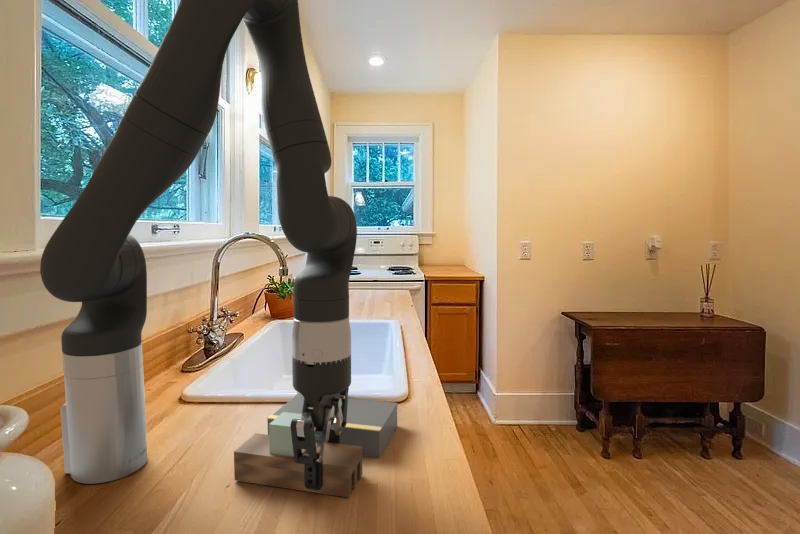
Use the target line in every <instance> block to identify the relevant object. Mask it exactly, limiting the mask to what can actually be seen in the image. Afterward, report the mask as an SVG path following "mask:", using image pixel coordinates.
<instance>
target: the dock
mask: <svg viewBox="0 0 800 534" xmlns="http://www.w3.org/2000/svg"><path fill="white" fill-rule="evenodd" d="M303 403H304V397H303V395H302V394H301V393H298V394H297V393H296V395H295V396H294V397H292V398H291V399H290V400H288V401H287V402H286V403H285V404H284V405H282V406H281V407H279V409H277V410H276V411H275V412H274V413H273V414H270V415H269V416H268V417H267V418H266V420H267V435H269V424H270V423H271V422H272V421H273V420H274V419H276V418H277V417H278V416H279V415H280V414H281V413H283V412H288V413H297V414H302V408H303ZM346 422H347V424H346V426H345V428H343V427H342V435H341V437H340V444H346V445H354V446H362V457H364V456H365V457H371V458H381V457H382V454H383V452H384V451H385V449H386V447H387V445H388V443H389V441H390V439H391V438H392V436H393V435H394V433H395V431H396V429H397V426H398V402H394V401H393V402H391V401H381V400H372V399H371V400H370V399H360V398H350V397H348V404H347V421H346ZM314 432H315V435H318V436H321V435H322V432H317V431H314Z"/></svg>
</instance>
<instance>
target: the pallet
mask: <svg viewBox="0 0 800 534" xmlns="http://www.w3.org/2000/svg"><path fill="white" fill-rule="evenodd" d="M316 452H317V443H316ZM322 460H323V486H322V487H321V489H320V490H312V489H307V488H306V487H305V478H304V464H301V463H299V464H298V463H295V461H294V457H293V456H285V455H278V454H270V450H269V435H268V434H265V433H257V432H255V433H254V434H253V435H251V436H250V437H249V438H248V439H247V440H246V441H244V443H242V444H241V445H240V446H239V447H238V448H236V449H235V450H234V451H233V464H234V465H233V469H234V470H233V472H234V473H233V474H234V475H233V476H234V481H237V482H243V483H250V484H251V483H252V484H257V485H263V486H270V487H277V488H284V489H290V490H297V491H303V492H310V493H316V494H322V495H323V494H324V495H327V496H328V495H330V496H336V497H343V498H348V499H349V498H350V497H351V495H352V493H353V492H352V491H353V490H352V488H354V489H355V488H356V486H357V484H358V479H361V478H362V476H363V455H362V446H354V445H346V444H336V443H328V442H327V443H325V444H324V451H323V459H322Z"/></svg>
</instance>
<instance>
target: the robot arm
mask: <svg viewBox="0 0 800 534" xmlns="http://www.w3.org/2000/svg"><path fill="white" fill-rule="evenodd" d="M178 3H179V4H178V7H177V9H176V11H175V14H174V16H173V19H172V21H171V23H170V24H169V27H168V29H167V31H166V33H165V34H164V37H163V39H162V40H161V43H160V45H159V47H158V50H157V52H156V53H155V55H154V58H153V59H152V62H151V64H150V65H149V67H148V69H147V71H146V74H145V75H144V77H143V79H142V81H140V84H139V85H138V87H137V88H136V90H135V93H134V94H133V96H132V98H131V100H130V102H129V103H128V106H127V108H126V110H125V111H124V113H123V115H122V117H121V119H120V122H119V123H118V126H117V128H116V129H115V132H114V134H113V136H112V138H111V140H110V141H109V143H108V146H107V147H106V148H105V150H104V152H103V155H102V156H101V158H100V159H99V161H98V163H97V165H96V167H95V169H94V170H93V173H92V175H91V176H90V178H89V180H88V181H87V183H86V186H85V187H84V189H83V190H82V191H81V193H80V194H79V196H78V198H77V199H76V201H75V202H74V204H72V207H70V210H69V211H68V212H67V213H66V215H65V216H64V218H63V219H62V220H61V222H60V224H58V226H57V228H56V229H55V231H54V232H53V233H52V235H51V236H50V238H49V240H47V243H46V245H45V246H44V249H43V252H42V254H41V258H40V266H39V271H40V277H41V281H42V283H43V286H44V288H45V290H47V291H48V293H49V294H50V295H51V296H52V297H54V298H56V299H58V300H60V301H64V302H69V303H81V307H80V310H79V312H78V314H77V315H76V317H75V318H74V319H73V321H71V322H70V323H69V324H68V325H67V326H66V327H65V328H64V329H63V331H62V332H61V339H60V341H61V352H62V353H61V354H62V367H63V368H62V369H63V380H64V393H65V396H64V397H65V403H64V404H61V406H60V421H61V435H62V436H61V437H62V449H63V466H64V473H65V474H68V475H69V474H70V477H71V479H72V480H73V481H75V482H77V483H79V484H88V485H89V484H102V483H107V482H112V481H115V480H119V479H122V478H124V477H127V476H130V475H131V474H133V473H135V472H137V471H138V470H140V469H141V468H142V467H144V465H145V464H146V463H147V462H148V441H147V438H148V437H147V418H146V416H147V415H146V413H147V412H146V398H145V380H144V379H145V376H144V361H143V359H144V357H143V343H142V341H143V340H142V332H143V328H144V326H145V323H146V319H147V314H148V313H147V312H148V293H147V292H148V272H147V262H146V258H145V254H144V251H143V248H142V246H141V245H140V243H139V241H138V240H137V239H136V238H135V237H134V236H133V235H131V234H130V233H131V231H132V229H133V228H134V226H135V224H136V223H137V221H138V220H139V218H140V217H141V216H142V214H143V213H144V212H145V211H146V210H147V209H148V208H149V207H150V206H151V205H152V204H153V203H154V202H155V201H156V200H157V199H158V198H160V197H161V196H162V195H163V194H164V193H165V192H166V191H167V190H168V189H170V187H172V185H174V184H175V183H176V182H177V181H178V180H179V179H180V178H181V177H182V176H183V175H184V174H185V173H186V171H187V170H188V169H189V168H190V167H191V165H192V164H193V163H194V161H195V159H196V158H197V156H198V154H199V152H200V151H201V148H202V147H203V145H204V144H205V142H206V140H207V138H208V136H209V134H210V132H211V130H212V128H213V126H214V124H215V121H216V117H217V113H218V109H219V108H218V107H219V100H220V93H221V83H222V82H221V81H222V73H223V64H224V61H225V58H226V53H227V51H228V48H229V45H230V43H231V41H232V39H233V37H234V35H235V34H236V31H237V29H238V28H239V26H240V24H241V22H242V23H243V24H244V26H245V28H246V30H247V33H248V35H249V37H250V39H251V40H250V41H252V44H253V47H254V49H255V53H256V56H257V60H258V65H259V68H260V71H259V72H260V79H261V80H260V81H261V82H260V83H261V84H260V87H261V89H260V91H261V93H260V95H261V96H260V97H261V98H260V99H261V100H260V101H261V103H260V105H261V112H262V113H261V114H262V119H263V125H264V129H265V132H266V133H265V134H266V137H267V140H268V145H269V148H270V151H271V154H272V158H273V162H274V165H275V168H276V197H277V198H276V199H277V202H276V203H277V213H278V219H279V224H280V228H281V230H282V232H283V234H284V236H285V237H286V239H287V241H288V242H289V243H290V245H291V246H292V247H294V248H295V249H297V250H298V251H300V252H302V253H307V254H306V262H305V267H303V270H301V272H299V273H298V274H297V275H296V276H295V278H294V280H293V281H294V282H293V288H292V289H293V292H292V293H293V304H292V305H293V325H292V332H291V333H292V334H291V345H292V346H291V357H292V359H291V360H292V361H291V364H292V365H291V367H292V369H291V370H292V387H293V389H294V391H296V393H297V392H299V393H301V394H302V395H303V397H304V403H303V408H302V417H301V418H300V419H292V421H291V425H290V427H291V436H292V444H293V453H294V461H295V463H298V464H299V463H301V464H304V478H305V487H306V488H307V489H312V490H320V489H321V487H322V486H323V460H322V459H323V451H324V444H325V443H327V442H328V443H336V444H340V437H341V435H342V427H343V428H345V426H346V424H347V422H346V421H347V404H348V398H349V390H350V389H349V387H350V386H351V385H352V331H351V325H350V289H349V288H350V287H349V286H350V285H349V283H350V277H351V272H352V270H353V263H354V257H355V252H356V246H357V238H358V226H357V219H356V215H355V212H354V211H353V209H352V207H351V205H350V204H349V203H348V202H347V201H345V200H344V199H342V198H340V197H338V196H333V195H329V193H328V188H327V182H326V181H327V179H326V173H327V172H329V170H330V169H331V166H332V156H331V155H332V154H331V149H330V146H329V143H328V138H327V134H326V131H325V128H324V124H323V120H322V117H321V113H320V110H319V107H318V103H317V99H316V96H315V92H314V88H313V85H312V80H311V77H310V73H309V69H308V65H307V64H308V63H307V59H306V54H305V49H304V43H303V37H302V30H301V29H302V27H301V19H300V10H299V0H180V1H179V2H178ZM314 431H317V432H322V435H321V436H318V435H315V432H314ZM316 443H317V452H316ZM301 449H302V450H301Z"/></svg>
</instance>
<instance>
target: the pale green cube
mask: <svg viewBox="0 0 800 534" xmlns="http://www.w3.org/2000/svg"><path fill="white" fill-rule="evenodd" d="M301 417H302V414H297V413H288V412H283V413H281V414H280V415H279V416H278V417H277V418H276V419H274V420H273V421H272V422H271V423H270V424H269V450H270V454H278V455H285V456H293V457H294V453H293V444H292V436H291V427H290V425H291V421H292V419H300V418H301ZM301 450H302V449H301Z"/></svg>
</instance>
